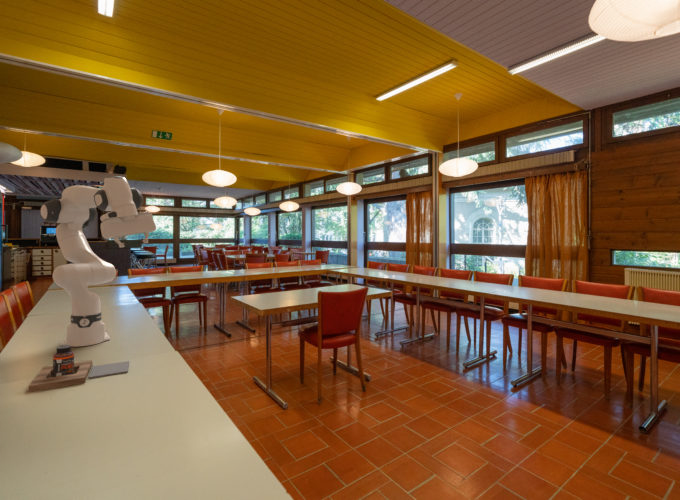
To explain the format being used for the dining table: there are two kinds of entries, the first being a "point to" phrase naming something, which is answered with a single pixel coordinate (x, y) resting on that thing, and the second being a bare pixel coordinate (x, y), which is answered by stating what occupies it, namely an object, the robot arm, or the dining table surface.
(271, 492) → the dining table surface
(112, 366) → the slate-grey rubber mat
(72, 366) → the supplement bottle
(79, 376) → the walnut dock board
